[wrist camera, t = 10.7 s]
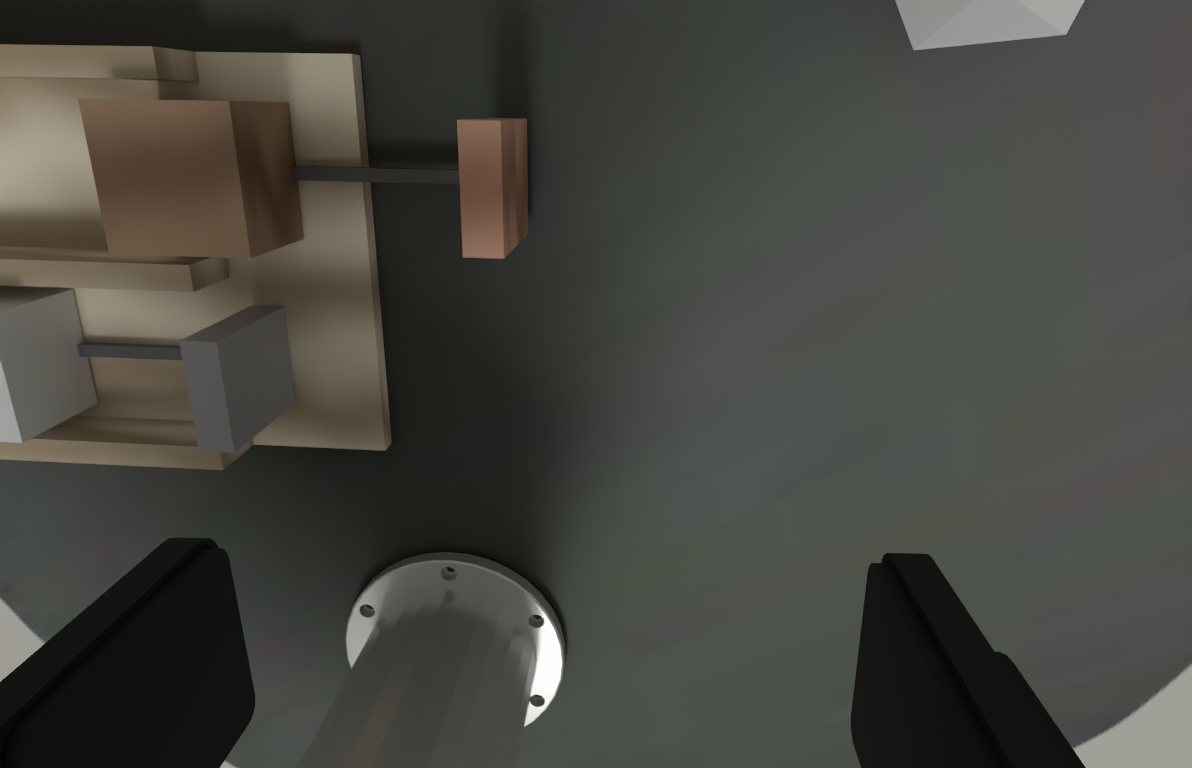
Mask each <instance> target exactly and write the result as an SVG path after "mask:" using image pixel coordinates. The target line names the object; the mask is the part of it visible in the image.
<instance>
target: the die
mask: <svg viewBox="0 0 1192 768" xmlns="http://www.w3.org/2000/svg"><path fill="white" fill-rule="evenodd" d="M895 1H896V4H897V7H898V9H899V12H900V15H901V17H902V20H903V23H904V25H905V28H906V31H907V34H908V36H909V39H910V42H911V44H912V47H913V50H921V49H931V48H941V47H951V46H960V45H970V44H980V43H989V42H999V41H1009V40H1018V39H1028V38H1038V37H1048V36H1057V35H1066V34H1067V32H1068V30H1069V28H1070V26H1071V24H1072V23H1073V21H1074V19H1075V17H1076V15H1077V13H1078V11H1079V10H1080V8H1081V6H1082V4H1083V2H1084V0H895Z"/></svg>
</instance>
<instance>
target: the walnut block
mask: <svg viewBox="0 0 1192 768" xmlns="http://www.w3.org/2000/svg"><path fill="white" fill-rule="evenodd" d="M78 102H79V107H80V112H81V116H82V121H83V126H84V131H85V136H86V141H87V146H88V151H89V156H90V161H91V166H92V171H93V176H94V181H95V186H96V190H97V195H98V200H99V205H100V210H101V215H102V220H103V225H104V230H105V235H106V240H107V245H108V250H109V254H121V255H153V256H185V257H217V258H249V259H251V258H254V257H256V256H259V255H262V254H264V253H267V252H270V251H273V250H275V249H278V248H281V247H283V246H286V245H289V244H291V243H294V242H297V241H300V240H302V239H304V234H303V225H302V217H301V208H300V199H299V190H298V182H297V180H300V181H341V182H382V183H423V184H460V202H461V225H462V248H463V257H464V258H496V259H504V258H505V257H506V256H507V255H508V254H509V253H510V252H511V251H512V250H513V249H514V248H515V247H516V246H517V245H518V244H519V243H520V242H521V241H522V240H523V239H524V238H525V237H526V236H527V235H528V166H527V119H517V118H481V119H462V120H457V133H458V156H459V169H417V168H374V167H331V166H296V164H295V155H294V146H293V138H292V129H291V120H290V111H289V103H288V102H254V101H201V100H145V99H89V98H78Z"/></svg>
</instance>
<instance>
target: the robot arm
mask: <svg viewBox="0 0 1192 768" xmlns="http://www.w3.org/2000/svg"><path fill="white" fill-rule="evenodd" d="M345 643H346V651H347V658H348V661H349V664H350V667H351V670H350V672H349V674H348V676H347V678H346V679H345V681H344V683H343V685H342V687H341V689H340V690H339V692H338V694H337V696H336V698H335V700H334V702H333V703H332V705H331V707H330V709H329V711H328V713H327V714H326V716H325V718H324V720H323V722H322V724H321V726H320V727H319V729H318V731H317V733H316V735H315V737H314V738H313V740H312V742H311V744H310V746H309V748H308V750H307V751H306V753H305V755H304V757H303V759H302V761H301V762H300V764H299V766H298V768H516V763H517V758H518V754H519V749H520V744H521V739H522V735H523V730H524V727H526V726H527V725H529V724H530V723H532V722H534V721H535V720H536V719H537V718H538V717H539V716H540V715H541V714H542V713H543V712H544V711H545V710H546V709H547V708H548V707H549V705H550V704H551V702H552V701H553V699H554V698H555V696H556V694H557V692H558V689H559V686H560V683H561V681H562V677H563V671H564V665H565V641H564V637H563V632H562V628H561V625H560V623H559V621H558V619H557V617H556V614H555V612H554V610H553V609H552V607H551V606H550V605H549V603H548V602H547V601H546V599H545V598H544V596H543V595H542V594H541V593H540V592H539V591H538V590H537V589H536V588H535V587H534V586H533V585H532V584H531V583H530V582H528V581H527V580H526V579H525V578H523V577H522V576H520V575H519V574H517V573H516V572H514V571H512V570H511V569H509V568H507V567H505V566H503V565H501V564H498V563H496V562H494V561H492V560H489V559H486V558H482V557H478V556H474V555H471V554H464V553H454V552H437V553H425V554H421V555H417V556H413V557H409V558H406V559H404V560H401V561H399V562H397V563H395V564H393V565H391V566H389V567H387V568H386V569H385V570H383V571H382V572H381V573H379V574H378V575H377V576H375V577H374V578H373V579H372V580H371V582H370V583H369V584H368V585H367V586H366V587H365V589H364V590H363V591H362V593H361V594H360V596H359V598H358V599H357V601H356V602H355V604H354V606H353V608H352V611H351V614H350V616H349V619H348V622H347V628H346V637H345ZM254 708H255V692H254V687H253V682H252V677H251V671H250V666H249V661H248V656H247V650H246V645H245V640H244V635H243V629H242V624H241V619H240V614H239V608H238V603H237V598H236V593H235V587H234V582H233V577H232V572H231V566H230V561H229V557H228V554H227V552H226V551H225V550H224V549H222V548H218V545H217V544H216V543H215V541H214V540H212V539H210V538H169V539H168V540H166V541H164V542H163V543H162V544H161V545H160V546H158V547H157V548H156V549H155V550H154V551H153V552H151V553H150V554H149V555H148V556H147V557H146V558H144V559H143V560H142V561H141V562H140V563H139V564H137V565H136V566H135V567H134V568H133V569H132V570H130V571H129V572H128V573H127V574H126V575H125V576H123V577H122V578H121V579H120V580H119V581H118V582H116V583H115V584H114V585H113V586H112V587H111V588H109V589H108V590H107V591H106V592H105V593H104V594H102V595H101V596H100V597H99V598H98V599H97V600H95V601H94V602H93V603H92V604H91V605H90V606H88V607H87V608H86V609H85V610H84V611H83V612H81V613H80V614H79V615H78V616H77V617H76V618H74V619H73V620H72V621H71V622H70V623H69V624H67V625H66V626H65V627H64V628H63V629H62V630H60V631H59V632H58V633H57V634H56V635H55V636H53V637H52V638H51V639H50V640H49V641H48V642H46V643H45V644H44V645H43V646H42V647H41V648H40V649H39V650H37V651H36V652H35V653H34V654H33V655H31V656H30V657H29V658H28V659H27V660H26V661H25V662H23V663H22V664H21V665H20V666H19V667H17V668H16V669H15V670H14V671H13V672H11V673H10V674H9V675H8V676H7V677H6V678H4V679H3V680H2V681H1V682H0V768H220V766H221V765H222V763H223V762H224V760H225V759H226V757H227V756H228V754H229V753H230V751H231V750H232V748H233V747H234V745H235V744H236V742H237V741H238V739H239V738H240V736H241V735H242V733H243V732H244V730H245V729H246V727H247V726H248V724H249V722H250V720H251V718H252V715H253V712H254ZM851 732H852V739H853V744H854V747H855V750H856V753H857V756H858V759H859V762H860V765H861V768H1085V766H1084V765H1083V763H1082V762H1081V760H1080V759H1079V757H1078V756H1077V755H1076V753H1075V752H1074V750H1073V749H1072V747H1071V746H1070V744H1069V743H1068V741H1067V740H1066V738H1065V737H1064V736H1063V734H1062V733H1061V731H1060V730H1059V728H1058V727H1057V725H1056V724H1055V722H1054V721H1053V720H1052V718H1051V717H1050V715H1049V714H1048V712H1047V711H1046V709H1045V708H1044V706H1043V705H1042V704H1041V702H1040V701H1039V699H1038V698H1037V696H1036V695H1035V693H1034V692H1033V690H1032V689H1031V688H1030V686H1029V685H1028V683H1027V682H1026V680H1025V679H1024V677H1023V676H1022V674H1021V673H1020V672H1019V670H1018V669H1017V667H1016V666H1015V664H1014V663H1013V662H1012V661H1011V660H1010V659H1009V657H1008V656H1007V655H1005V654H1003V653H1000V652H994V650H993V649H992V647H991V646H990V644H989V643H988V641H987V640H986V638H985V637H984V635H983V634H982V632H981V631H980V629H979V628H978V626H977V625H976V623H975V622H974V620H973V619H972V617H971V616H970V614H969V613H968V611H967V610H966V608H965V607H964V605H963V604H962V602H961V601H960V599H959V598H958V596H957V595H956V593H955V592H954V590H953V589H952V587H951V586H950V584H949V583H948V581H947V580H946V578H945V577H944V575H943V574H942V572H941V571H940V569H939V568H938V566H937V565H936V563H935V562H934V560H933V559H932V558H931V556H930V555H928V554H907V553H886V554H885V555H884V556H883V558H882V561H881V563H872V564H870V566H869V569H868V575H867V584H866V592H865V601H864V609H863V618H862V626H861V635H860V644H859V652H858V661H857V669H856V678H855V686H854V695H853V703H852V712H851Z"/></svg>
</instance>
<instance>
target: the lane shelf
mask: <svg viewBox="0 0 1192 768" xmlns="http://www.w3.org/2000/svg"><path fill="white" fill-rule="evenodd" d="M78 98H89V99H145V100H201V101H254V102H288V103H289V111H290V120H291V129H292V138H293V146H294V155H295V164H296V166H331V167H369V159H368V147H367V134H366V122H365V110H364V98H363V86H362V74H361V61H360V55H355V54H323V53H251V52H193V51H185V50H177V49H169V48H161V47H153V46H86V45H12V44H0V287H23V288H52V289H73V294H74V298H75V303H76V307H77V312H78V316H79V321H80V325H81V330H82V334H83V339H84V342H98V343H124V344H150V345H176V346H180V343H179V341H180V340H182V339H184V338H186V337H188V336H190V335H192V334H194V333H196V332H198V331H200V330H202V329H204V328H206V327H208V326H210V325H212V324H215V323H217V322H219V321H221V320H223V319H225V318H227V317H229V316H231V315H233V314H235V313H237V312H239V311H241V310H243V309H245V308H247V307H249V306H251V305H255V306H283V307H284V313H285V320H286V328H287V336H288V344H289V352H290V360H291V368H292V376H293V383H294V391H295V399H296V403H295V404H294V405H292V406H291V407H290V408H289V409H288V410H286V411H285V412H284V413H283V414H282V415H280V416H279V417H278V418H277V419H275V420H274V421H273V422H272V423H271V424H269V425H268V426H267V427H266V428H264V429H263V430H262V431H261V432H260V433H258V434H257V435H256V436H255V437H253V438H252V439H251V440H250V441H249V442H247V443H246V444H245V445H244V446H242V447H241V448H240V449H239V450H238V451H236V452H235V453H224V452H203V451H199V449H198V444H197V438H196V433H195V427H194V421H193V416H192V410H191V405H190V399H189V393H188V388H187V382H186V376H185V371H184V365H183V360H158V359H133V358H108V357H88V361H89V366H90V370H91V375H92V379H93V384H94V388H95V393H96V397H97V401H98V403H97V404H95V405H93V406H91V407H89V408H88V409H86V410H84V411H82V412H80V413H78V414H76V415H74V416H72V417H71V418H69V419H67V420H65V421H63V422H61V423H59V424H57V425H55V426H54V427H52V428H50V429H48V430H46V431H44V432H42V433H40V434H38V435H36V436H35V437H33V438H31V439H29V440H27V441H25V442H23V443H13V442H0V459H5V460H25V461H45V462H66V463H86V464H107V465H127V466H147V467H168V468H188V469H208V470H224V469H225V468H227V467H228V466H229V465H230V464H231V463H233V462H234V461H235V460H236V459H237V458H238V457H240V456H241V455H242V454H243V453H244V452H246V451H247V450H248V449H249V448H250V447H252V446H253V445H274V446H296V447H317V448H338V449H360V450H381V451H386V449H387V448H388V447H389V446H390V444H391V443H392V439H391V427H390V414H389V402H388V390H387V378H386V366H385V354H384V341H383V329H382V317H381V305H380V293H379V280H378V268H377V256H376V244H375V232H374V220H373V207H372V195H371V183H370V182H341V181H300V180H297V182H298V190H299V199H300V208H301V217H302V225H303V234H304V239H302V240H300V241H297V242H294V243H291V244H289V245H286V246H283V247H281V248H278V249H275V250H273V251H270V252H267V253H264V254H262V255H259V256H256V257H254V258H251V259H249V258H217V257H185V256H153V255H121V254H109V250H108V245H107V240H106V235H105V230H104V225H103V220H102V215H101V210H100V205H99V200H98V195H97V190H96V186H95V181H94V176H93V171H92V166H91V161H90V156H89V151H88V146H87V141H86V136H85V131H84V126H83V121H82V116H81V112H80V107H79V102H78Z"/></svg>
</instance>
